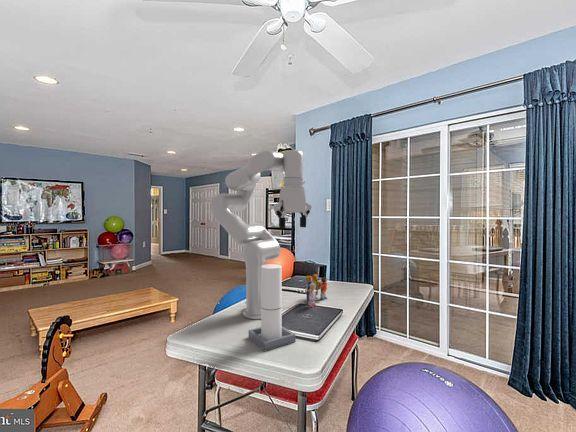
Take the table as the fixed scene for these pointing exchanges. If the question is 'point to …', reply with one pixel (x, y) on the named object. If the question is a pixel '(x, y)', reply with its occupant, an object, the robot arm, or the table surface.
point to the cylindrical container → (271, 301)
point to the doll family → (315, 289)
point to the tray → (267, 345)
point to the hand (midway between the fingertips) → (292, 227)
